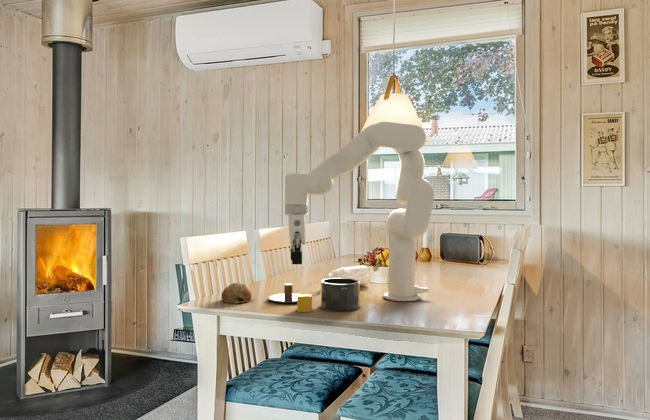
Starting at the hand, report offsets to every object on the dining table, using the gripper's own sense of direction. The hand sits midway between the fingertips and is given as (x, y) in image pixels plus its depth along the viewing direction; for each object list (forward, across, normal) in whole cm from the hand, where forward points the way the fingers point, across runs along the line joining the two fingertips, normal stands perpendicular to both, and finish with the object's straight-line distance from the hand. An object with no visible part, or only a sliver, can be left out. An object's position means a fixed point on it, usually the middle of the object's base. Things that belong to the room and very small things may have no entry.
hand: (296, 262), depth 172 cm
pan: (+14, -4, -14) cm, 21 cm away
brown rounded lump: (+14, +8, +20) cm, 26 cm away
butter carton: (+14, -8, -2) cm, 17 cm away
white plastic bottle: (+14, +30, -22) cm, 40 cm away
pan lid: (+14, +8, +2) cm, 16 cm away
